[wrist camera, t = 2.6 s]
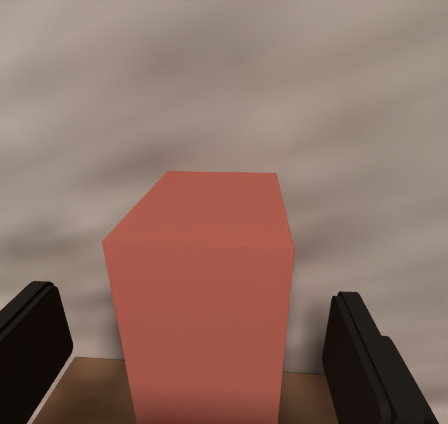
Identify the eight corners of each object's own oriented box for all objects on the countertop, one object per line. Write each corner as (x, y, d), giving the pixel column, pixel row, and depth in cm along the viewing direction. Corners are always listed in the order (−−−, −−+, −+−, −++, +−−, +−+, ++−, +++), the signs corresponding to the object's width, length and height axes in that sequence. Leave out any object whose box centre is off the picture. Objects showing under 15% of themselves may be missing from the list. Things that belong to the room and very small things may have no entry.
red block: (275, 172, 12) (297, 263, 6) (266, 326, 15) (274, 485, 9) (168, 170, 13) (89, 255, 7) (180, 321, 16) (135, 470, 10)
